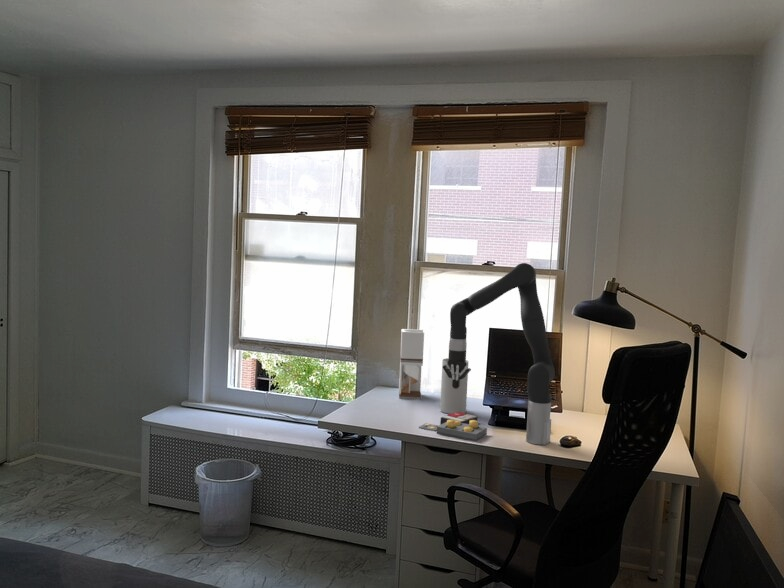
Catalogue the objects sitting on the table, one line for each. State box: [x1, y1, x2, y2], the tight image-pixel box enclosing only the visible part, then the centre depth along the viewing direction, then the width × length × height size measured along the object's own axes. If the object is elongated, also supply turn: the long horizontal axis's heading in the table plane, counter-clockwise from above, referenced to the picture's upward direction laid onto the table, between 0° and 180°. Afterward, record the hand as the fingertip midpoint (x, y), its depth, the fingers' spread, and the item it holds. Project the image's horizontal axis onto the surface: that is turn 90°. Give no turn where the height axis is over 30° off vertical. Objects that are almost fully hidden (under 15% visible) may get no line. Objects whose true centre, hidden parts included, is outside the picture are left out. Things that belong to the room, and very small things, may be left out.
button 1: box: [447, 420, 455, 429], centre depth 278 cm, size 4×4×3 cm
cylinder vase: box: [439, 358, 469, 415], centre depth 314 cm, size 12×12×25 cm
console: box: [436, 422, 488, 442], centre depth 278 cm, size 18×12×3 cm, turn 60°
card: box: [418, 422, 439, 432], centre depth 286 cm, size 8×7×1 cm
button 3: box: [469, 420, 479, 429], centre depth 278 cm, size 4×4×3 cm
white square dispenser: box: [398, 328, 425, 400], centre depth 341 cm, size 11×11×35 cm
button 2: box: [464, 427, 473, 432], centre depth 274 cm, size 4×4×3 cm
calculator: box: [439, 412, 479, 425], centre depth 294 cm, size 11×4×15 cm
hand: (455, 388), depth 282 cm, fingers closed
